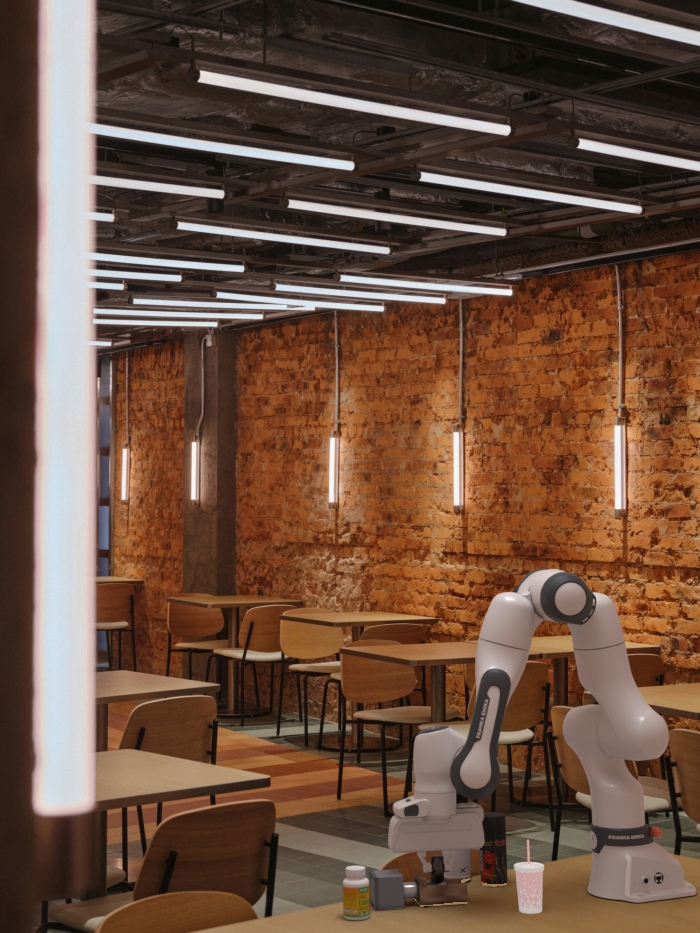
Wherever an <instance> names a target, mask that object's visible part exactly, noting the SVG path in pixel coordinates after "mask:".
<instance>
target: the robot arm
mask: <svg viewBox="0 0 700 933" xmlns="http://www.w3.org/2000/svg"><path fill="white" fill-rule="evenodd" d="M544 621H546V622H556V623H560V624H566V625H567V626H568V629H569V631H570V635H571V642H572V647H573V654H574V660H575V664H576V670H577V676H578V680H579V682H580V684H581V686H582V688H584V689H585V690H586V691H587V692H589V693H590V694H591V695H592V697H594V699H595V700H596V702H597V703H598V704H592V703H591V704H586V705H580V706H576V707H573V708H571V709H570V710H569V711H568V712H567V713H566V715H565V717H564V719H563V722H562V736H563V738H564V741H565V743H566V744H567V746H568V747H570V748H571V750H573V752H574V753H575V755H576V756H577V757H578V760H579V761H580V763H581V766H582V768H583V770H584V773H585V776H586V778H587V781H588V786H589V792H590V805H591V821H592V822H591V823H590V834H589V836H590V837H589V839H590V846H591V847H590V848H591V850H592V856H591V857H592V859H591V870H590V875H589V882H588V885H587V886H588V887H587V890H586V891H587V892H588V893H589V894H591V896H595V897H599V898H603V899H608V900H619V901H626V902H629V903H638V904H639V903H645V902H646V903H647V902H654V901H661V900H669V899H670V900H671V899H676V898H677V899H678V898H685V897H691V896H693V897H694V896H696V895H697V889H696V887H695V886H694V885H693V884H692V883H691V882H689V881H687V880H686V879H685V874H684V870H683V866H682V865H681V863H680V861H679V860H678V859H677V858H676V857H675V856H673V855H672V854H671V853H670V852H669V851H667V850H666V849H665V848H664V847H662V846H661V845H659V844H658V843H657V842H656V841H654V840H655V838H656V839H660V838H662V836H663V830H662V829H661V828H659V827H656V826H651V825H649V824H647V823H646V818H645V817H646V815H645V798H644V796H645V794H644V788H643V786H642V783H640V782H639V780H638V779H636V778H635V777H634V776H633V775H632V773H631V772H630V770H629V769H628V767H627V765H626V762H625V760H626V761H627V760H628V761H633V762H635V761H636V762H639V761H650V760H656V759H659V758H660V757H661V756H662V755H664V752H665V751H666V750H667V748H668V744H669V740H670V732H669V728H668V724H667V722H666V720H665V718H664V717H662V715H660V714H659V713H657V711H655V710H654V709H653V708H652V707H651V706H650V704H649V703H648V702H647V701H646V699H645V698H644V696H643V695H642V693H641V691H640V690H639V688H638V686H637V684H636V682H635V678H634V676H633V674H632V669H631V666H630V661H629V656H628V650H627V646H626V645H627V644H626V639H625V636H624V635H625V634H624V630H623V625H622V622H621V619H620V617H619V613H618V611H617V607H616V606H615V602H614V601H613V599H612V598H611V597H610V596H608V595H606V594H605V593H601V592H596V591H595V592H594V591H591V589H590V588H589V586H588V585H587V583H586V582H585V581H584V580H583V579H582V578H581V577H579V576H578V575H577V574H575V573H572V572H568V571H565V570H561V569H559V568H558V569H557V568H549V569H548V568H538V569H535V570H532V571H531V572H529V573H527V574H526V575H525V576H524V577H523V578H522V579H521V580H520V582H519V584H517V586H516V587H515V588H514V589H513V590H512V591H507V592H499V593H498V594H496V595H495V596H493V598H492V600H491V602H490V603H489V606H488V609H487V611H486V613H485V616H484V619H483V622H482V625H481V628H480V632H479V636H478V640H477V644H476V652H475V659H474V660H475V662H474V673H475V675H474V676H475V687H476V689H475V692H476V693H475V702H474V709H473V712H472V718H471V722H470V726H469V729H468V734H467V736H465V735H463V734H462V733H459V732H457V731H456V730H454V729H453V728H452V727H451V726H449V725H446V724H445V725H436V726H435V725H434V726H430V727H427V728H424V729H422V730H420V731H419V732H418V733H417V734H416V736H415V738H414V742H413V753H412V754H413V757H412V758H413V763H412V764H413V767H412V768H413V773H414V776H415V783H414V786H413V787H414V788H413V795H410V796H409V797H406V798H403V799H401V800H397V801H396V802H394V803H393V804H392V810H393V813H394V815H393V816H392V817H391V818H390V821H389V826H388V836H387V840H388V841H387V845H388V848H389V850H390V851H391V852H392V853H394V854H404V853H417V857H418V858H419V860H420V862H421V864H422V870H423V871H422V872H423V873H424V874H431V873H432V870H431V868H432V865H431V864H430V862H427V861H426V859H425V858H426V856H427V852H439V851H441V852H442V850H447V853H448V854H450V855H449V857H448V859H447V861H446V862H444V872H451V863H452V862H453V860H454V858H455V856H456V850H458V849H470V850H472V849H480V848H482V846H483V845H484V843H485V840H484V831H483V825H482V822H483V819H484V808H483V807H482V806H481V805H479V804H478V803H477V802H468V803H456V790H457V791H458V792H459V793H460V794H461V795H463V796H465V797H467V798H468V799H471V800H480V799H484V798H487V797H489V796H490V795H492V794H493V793H494V792H495V791H496V789H497V787H499V786H498V785H499V783H500V779H501V770H500V761H499V760H500V759H499V756H498V747H499V742H500V736H501V731H502V727H503V722H504V718H505V715H506V710H507V707H508V705H509V701H510V700H511V698H512V695H513V694H514V692H515V690H516V688H517V686H518V684H519V681H520V680H521V678H522V675H523V674H524V671H525V668H526V665H527V663H528V659H529V656H530V650H531V646H532V640H533V636H534V634H535V632H536V630H537V629H538V627H539V626H540V624H541V623H542V622H544Z"/></svg>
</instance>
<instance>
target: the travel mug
mask: <svg viewBox="0 0 700 933" xmlns="http://www.w3.org/2000/svg"><path fill="white" fill-rule="evenodd" d="M456 803H469V798H467V797H465V796H463V795H461V794H460V793H459V792H458V791H457V790H456ZM441 855H443V856H444V862H446V861H447V859H448V857H449V855H450V854H448V853H447V850H441ZM471 866H472V865H471V849H458V850H456V856H455V858H454V860H453V862H452V863H451V872H444V878H461V880H463V879H468V878H471V879H472V875H471Z"/></svg>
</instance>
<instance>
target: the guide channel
mask: <svg viewBox="0 0 700 933" xmlns="http://www.w3.org/2000/svg"><path fill="white" fill-rule="evenodd" d="M412 874H413V882H419V898H415V899H416V901H417V902H418V903H419V904H420V905H433V904H444V903H453V902H468V903H469V901H468V897H469V896H468V884H467V883H461V878H444V880H445V882H446V885H431V886H427V881H431V878H430V879H427V878H426V877H425V876H424V874H423V873H421V872H420V871H419V872H412ZM416 901H415V902H416Z"/></svg>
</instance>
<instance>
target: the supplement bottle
mask: <svg viewBox="0 0 700 933" xmlns="http://www.w3.org/2000/svg"><path fill="white" fill-rule="evenodd" d="M366 873H367V872H366V867H365V866H363V865H349V866H346V867H345V876H346V877H345V878H344V879H343V880H342V903H343V904H342V909H343V911H342V912H343V918H344V919H345V920H347V921H365V920H367V919H369V918H370V916H371V904H370V889H369V878H367V877H366Z"/></svg>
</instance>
